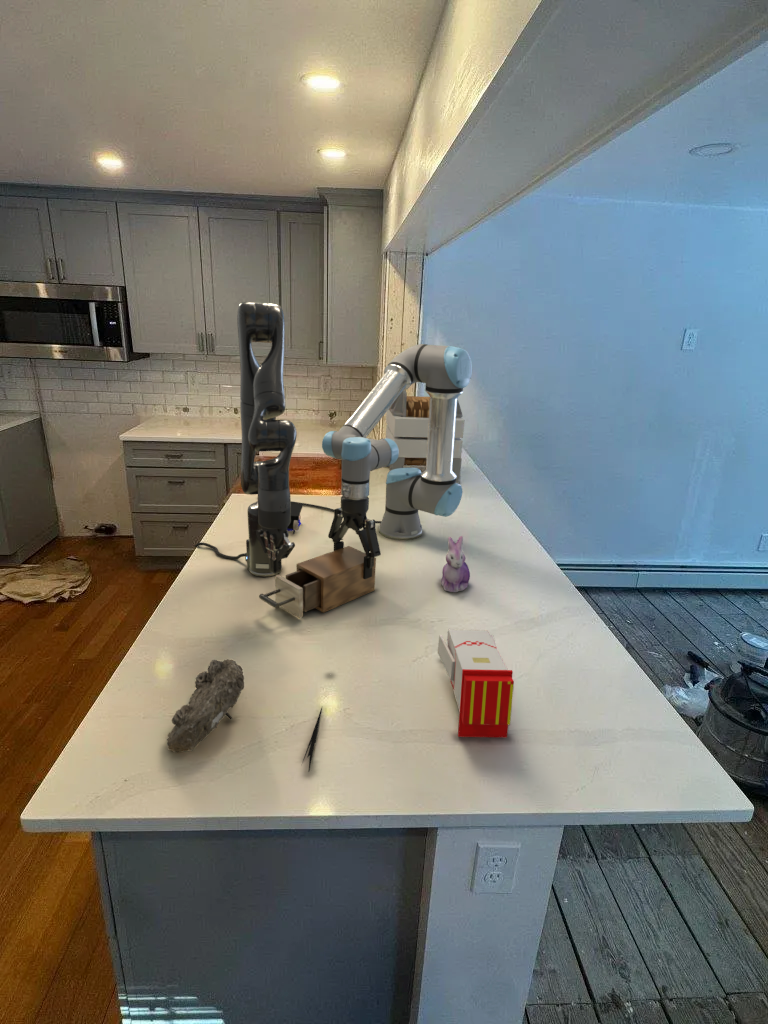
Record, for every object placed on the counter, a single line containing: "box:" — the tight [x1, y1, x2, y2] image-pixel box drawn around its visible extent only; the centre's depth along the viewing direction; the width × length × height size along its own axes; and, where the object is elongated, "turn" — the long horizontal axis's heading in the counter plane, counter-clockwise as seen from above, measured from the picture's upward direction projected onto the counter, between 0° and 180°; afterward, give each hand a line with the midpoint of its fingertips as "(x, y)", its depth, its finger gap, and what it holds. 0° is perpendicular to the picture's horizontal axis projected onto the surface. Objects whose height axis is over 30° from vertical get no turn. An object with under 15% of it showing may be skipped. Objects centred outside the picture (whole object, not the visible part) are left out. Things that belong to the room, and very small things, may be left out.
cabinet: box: [295, 545, 377, 614], centre depth 155 cm, size 19×11×10 cm, turn 136°
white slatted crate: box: [384, 389, 465, 484], centre depth 268 cm, size 34×33×41 cm
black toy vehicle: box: [287, 503, 304, 535], centre depth 198 cm, size 7×8×15 cm
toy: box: [437, 628, 515, 738], centre depth 117 cm, size 12×13×30 cm
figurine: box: [440, 535, 471, 593], centre depth 161 cm, size 9×10×15 cm
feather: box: [301, 673, 332, 771], centre depth 108 cm, size 2×28×2 cm
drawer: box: [258, 570, 321, 619], centre depth 147 cm, size 24×10×8 cm, turn 136°
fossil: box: [166, 658, 245, 754], centre depth 106 cm, size 22×10×15 cm
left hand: (275, 571), depth 138 cm, fingers closed
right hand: (352, 570), depth 159 cm, fingers closed on cabinet, 11 cm apart
